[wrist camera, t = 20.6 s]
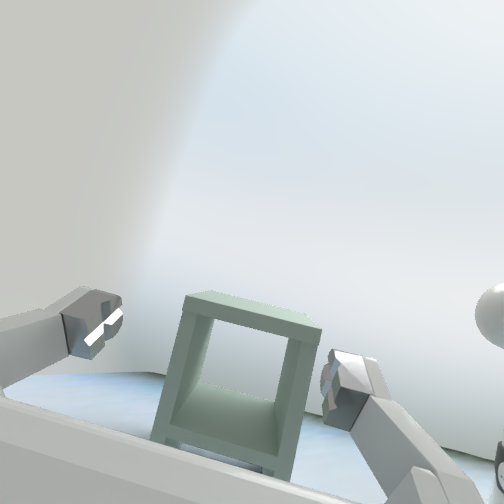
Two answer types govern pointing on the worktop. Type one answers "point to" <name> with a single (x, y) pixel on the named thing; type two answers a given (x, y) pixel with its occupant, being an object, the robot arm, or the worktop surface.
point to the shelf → (232, 402)
